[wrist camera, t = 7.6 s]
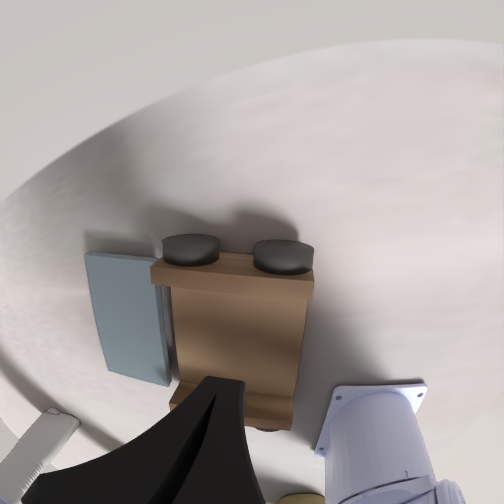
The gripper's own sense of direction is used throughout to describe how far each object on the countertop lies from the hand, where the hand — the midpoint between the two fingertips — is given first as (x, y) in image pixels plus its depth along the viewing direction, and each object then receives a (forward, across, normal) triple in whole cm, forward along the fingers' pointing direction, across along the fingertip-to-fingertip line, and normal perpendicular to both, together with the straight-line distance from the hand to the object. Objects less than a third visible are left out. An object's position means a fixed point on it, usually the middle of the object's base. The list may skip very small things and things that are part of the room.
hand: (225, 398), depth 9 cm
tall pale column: (+10, +26, +23) cm, 36 cm away
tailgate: (+8, +6, +3) cm, 11 cm away
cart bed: (+9, +1, +3) cm, 10 cm away
